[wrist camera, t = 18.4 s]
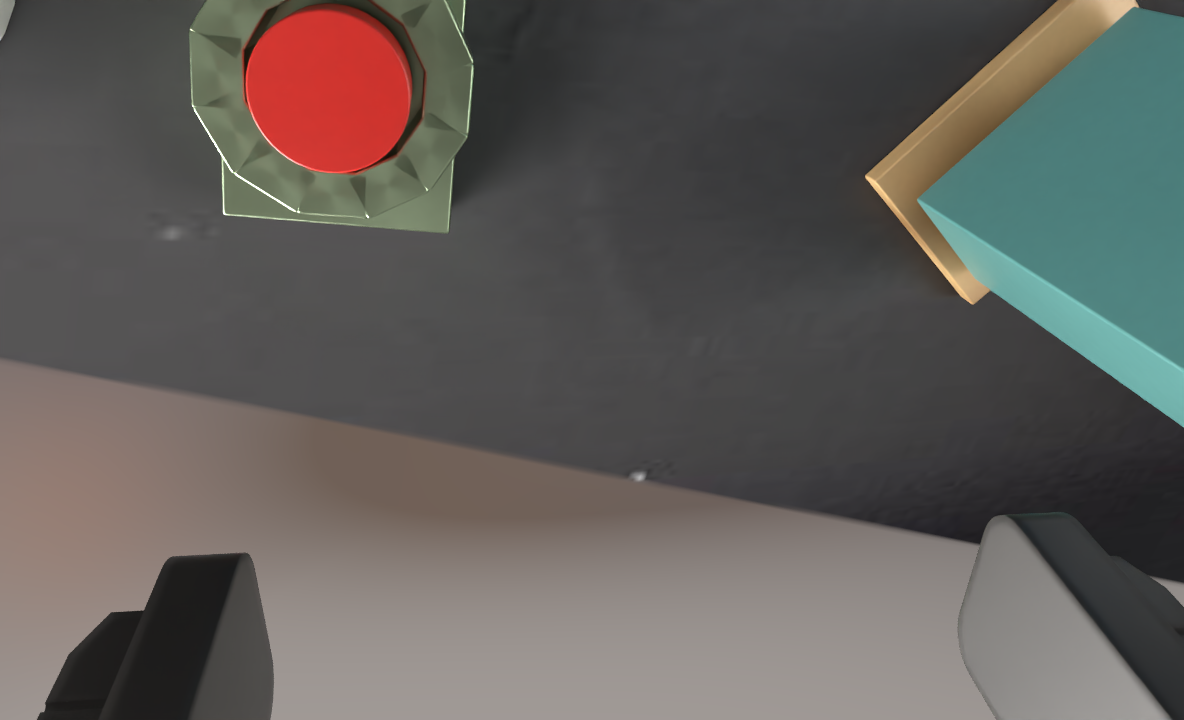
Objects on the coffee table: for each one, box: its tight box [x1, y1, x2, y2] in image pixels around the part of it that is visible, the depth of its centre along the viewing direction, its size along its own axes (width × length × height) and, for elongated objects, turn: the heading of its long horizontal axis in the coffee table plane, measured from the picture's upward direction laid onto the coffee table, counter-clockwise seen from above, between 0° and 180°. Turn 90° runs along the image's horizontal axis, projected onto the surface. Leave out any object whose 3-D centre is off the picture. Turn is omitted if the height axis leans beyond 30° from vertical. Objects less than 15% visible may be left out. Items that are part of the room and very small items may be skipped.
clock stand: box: [865, 0, 1139, 304], centre depth 29 cm, size 6×9×1 cm, turn 133°
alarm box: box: [189, 0, 475, 234], centre depth 24 cm, size 6×8×4 cm
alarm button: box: [246, 3, 412, 173], centre depth 22 cm, size 4×4×2 cm
